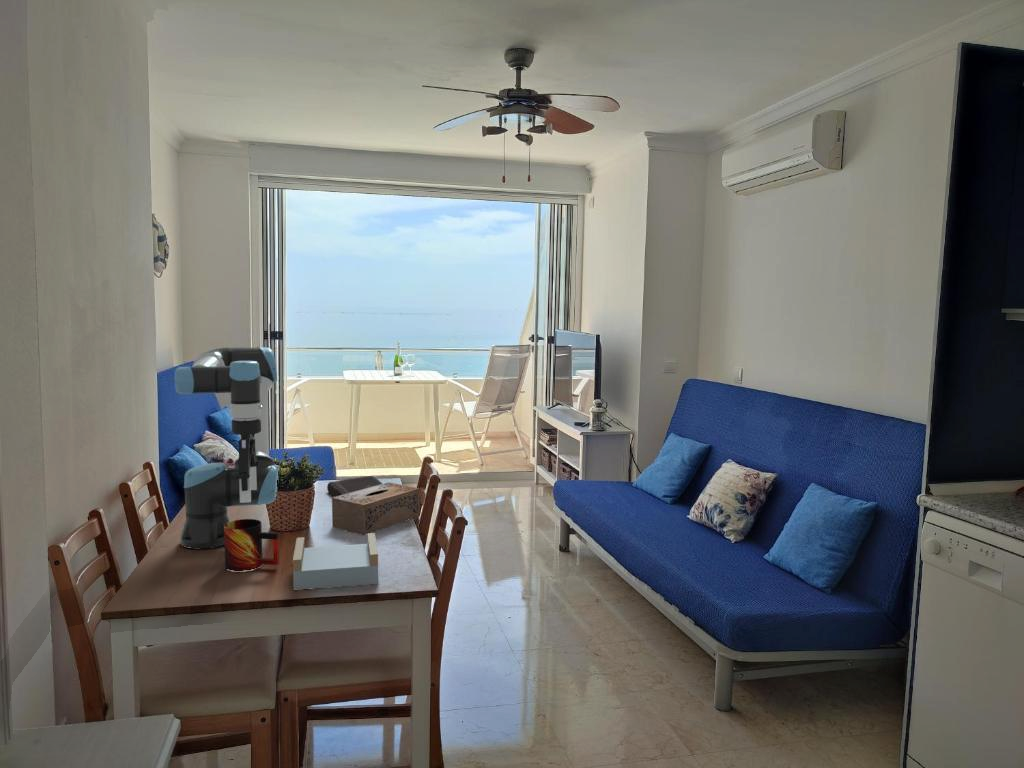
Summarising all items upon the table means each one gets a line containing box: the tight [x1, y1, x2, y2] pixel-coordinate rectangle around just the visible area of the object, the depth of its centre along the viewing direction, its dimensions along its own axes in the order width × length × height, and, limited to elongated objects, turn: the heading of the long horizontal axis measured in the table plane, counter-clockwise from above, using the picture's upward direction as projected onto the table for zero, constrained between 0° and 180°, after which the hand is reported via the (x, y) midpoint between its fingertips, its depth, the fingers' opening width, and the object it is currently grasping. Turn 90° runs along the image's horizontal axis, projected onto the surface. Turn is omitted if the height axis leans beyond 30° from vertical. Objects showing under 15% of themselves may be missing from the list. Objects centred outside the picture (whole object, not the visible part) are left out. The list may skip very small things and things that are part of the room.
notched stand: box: [292, 532, 379, 590], centre depth 197 cm, size 21×18×8 cm
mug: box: [224, 518, 280, 571], centre depth 203 cm, size 10×14×12 cm
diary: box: [326, 475, 383, 497], centre depth 276 cm, size 19×25×5 cm
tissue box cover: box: [331, 481, 421, 536], centre depth 245 cm, size 26×14×10 cm, turn 145°
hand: (248, 495), depth 201 cm, fingers open, 13 cm apart
